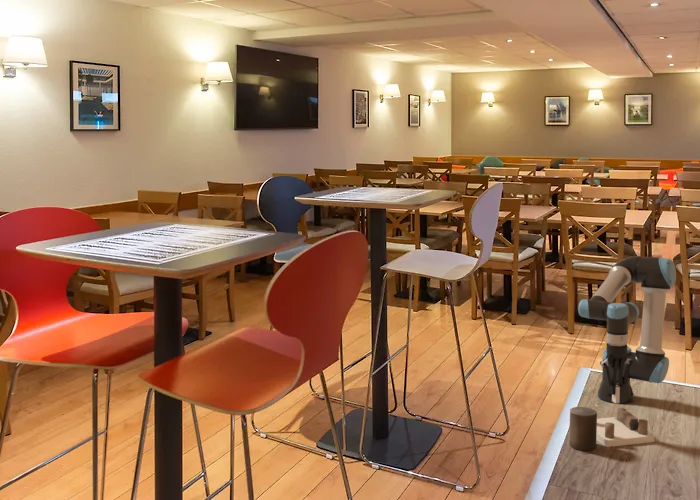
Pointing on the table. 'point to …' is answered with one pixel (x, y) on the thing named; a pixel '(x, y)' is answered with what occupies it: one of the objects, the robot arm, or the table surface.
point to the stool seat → (622, 433)
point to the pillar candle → (583, 428)
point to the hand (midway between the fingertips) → (615, 401)
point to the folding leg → (627, 418)
